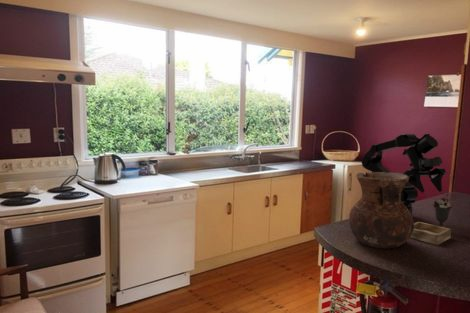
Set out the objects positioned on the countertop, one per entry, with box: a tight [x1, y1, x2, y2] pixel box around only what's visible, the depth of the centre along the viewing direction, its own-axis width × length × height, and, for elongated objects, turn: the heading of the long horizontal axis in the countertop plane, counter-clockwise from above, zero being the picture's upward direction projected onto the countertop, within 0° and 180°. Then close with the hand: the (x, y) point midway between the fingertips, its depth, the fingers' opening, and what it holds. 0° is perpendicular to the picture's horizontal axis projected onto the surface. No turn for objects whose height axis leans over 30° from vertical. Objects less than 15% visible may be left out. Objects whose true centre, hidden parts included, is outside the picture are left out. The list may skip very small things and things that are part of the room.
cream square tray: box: [409, 221, 452, 246], centre depth 138 cm, size 12×12×4 cm
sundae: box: [432, 193, 453, 227], centre depth 145 cm, size 7×7×15 cm
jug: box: [348, 171, 414, 249], centre depth 130 cm, size 22×21×25 cm
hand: (432, 192), depth 151 cm, fingers open, 9 cm apart
